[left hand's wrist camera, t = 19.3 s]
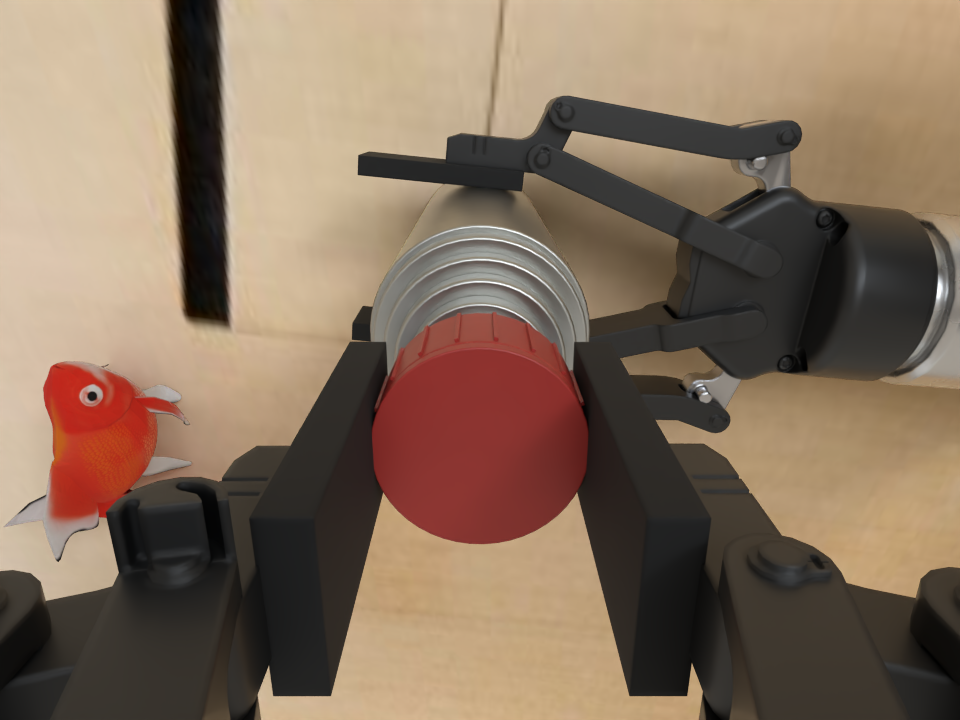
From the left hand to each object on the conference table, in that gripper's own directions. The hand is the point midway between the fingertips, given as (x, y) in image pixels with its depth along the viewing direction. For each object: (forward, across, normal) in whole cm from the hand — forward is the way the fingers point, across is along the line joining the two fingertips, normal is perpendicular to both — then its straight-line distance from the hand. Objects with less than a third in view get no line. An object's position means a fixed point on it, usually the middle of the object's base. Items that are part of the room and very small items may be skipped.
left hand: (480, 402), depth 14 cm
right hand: (+16, -5, 0) cm, 16 cm away
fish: (+22, -18, -13) cm, 31 cm away
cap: (-2, 0, 0) cm, 2 cm away
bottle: (+22, 0, 0) cm, 22 cm away
